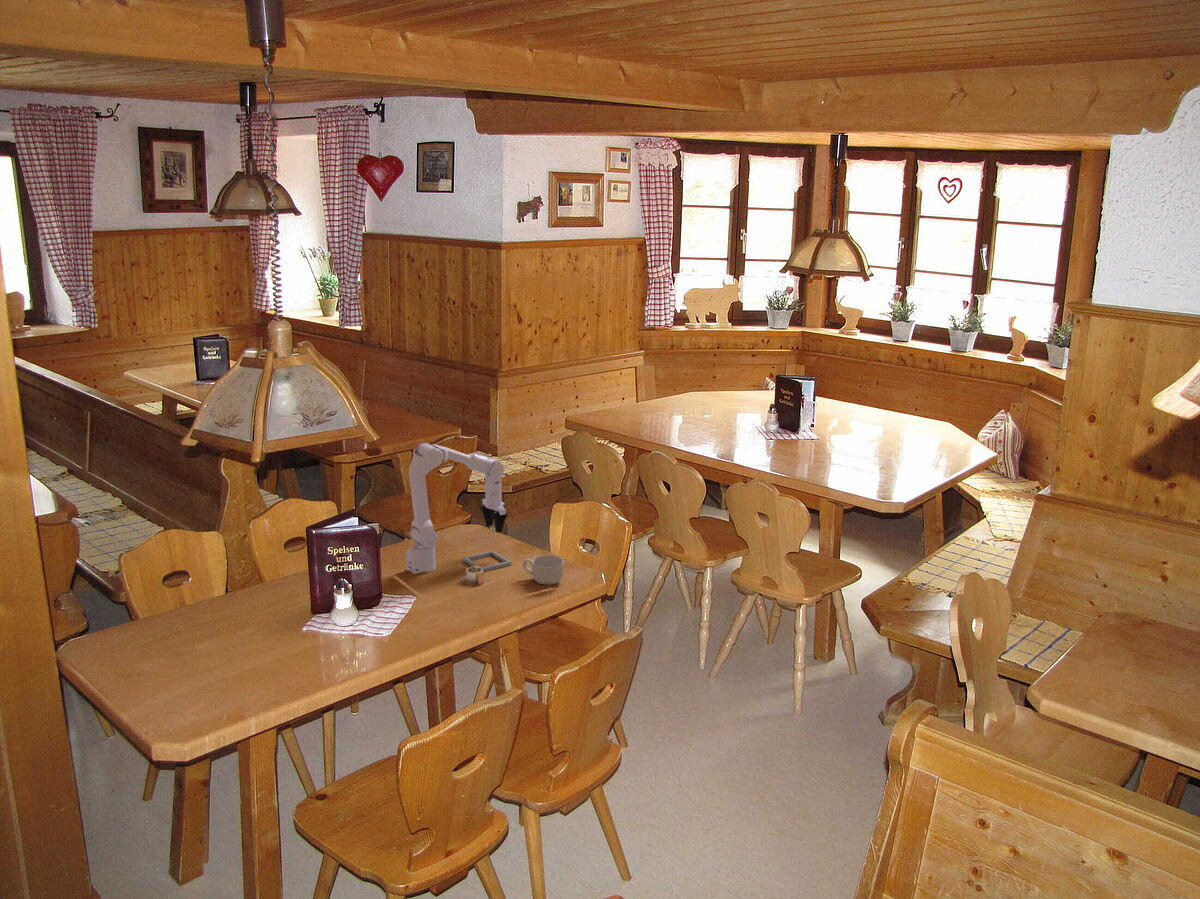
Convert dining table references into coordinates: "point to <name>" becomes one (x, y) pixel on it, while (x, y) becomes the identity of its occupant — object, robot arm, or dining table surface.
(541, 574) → the teacup
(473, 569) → the tan peg stand
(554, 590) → the dining table surface
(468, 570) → the ring
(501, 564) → the tray
